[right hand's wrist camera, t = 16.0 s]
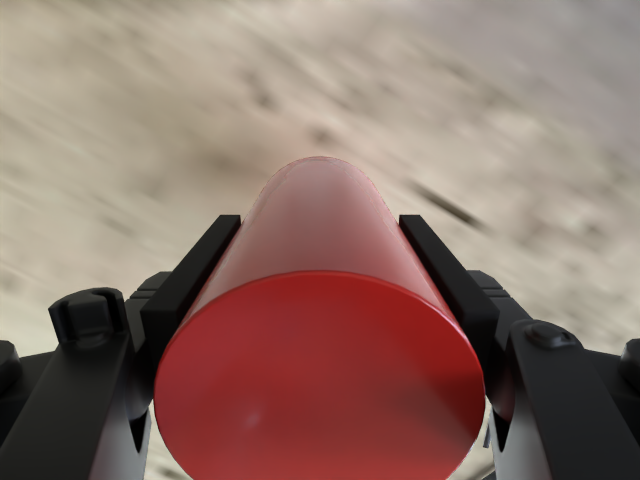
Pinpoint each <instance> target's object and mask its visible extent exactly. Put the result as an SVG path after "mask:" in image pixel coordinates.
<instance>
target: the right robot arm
mask: <svg viewBox="0 0 640 480" xmlns="http://www.w3.org/2000/svg"><path fill="white" fill-rule="evenodd" d="M240 226H241V218H240V215H220V216H219V217H218V218H217V219H216V220H215V222H214V223H213V224H212V225H211V226H210V227H209V229H208V230H207V231H206V232H205V233H204V235H203V236H202V237H201V238H200V239H199V241H198V242H197V243H196V244H195V245H194V247H193V248H192V249H191V250H190V251H189V252H188V254H187V255H186V256H185V257H184V258H183V260H182V261H181V262H180V263H179V264H178V266H177V267H176V268H175V269H174V270H173V271H172V272H159V273H157V274H155V275H154V276H152V277H150V278H148V279H146V280H145V281H144V282H143V283H142V284H141V285H140V287H139V288H138V289H137V291H135V292H134V293H133V294H132V295H131V296H130V299H127V300H126V301H125V302H124V299H123V295H122V292H120V291H119V290H117V289H114V288H108V287H103V288H92V289H87V290H82V291H78V292H76V293H73V294H70V295H67V296H65V297H63V298H62V299H60V300H58V301H56V302H55V303H54V304H52V305H51V306H50V307H49V308H48V311H49V314H50V317H51V320H52V323H53V326H54V329H55V332H56V335H57V338H58V342H59V345H58V346H57V348H56V350H55V351H52V352H47V353H42V354H37V355H31V356H26V357H21V358H19V357H18V354H17V352H16V349H15V346H14V345H13V344H12V343H10V342H9V341H4V340H0V480H143V479H144V472H145V465H146V458H147V451H148V444H149V437H150V429H151V416H150V411H149V407H148V406H149V404H150V403H151V401H152V399H153V392H154V380H155V376H156V372H157V368H158V364H159V361H160V359H161V357H162V355H163V353H164V350H165V348H166V346H167V344H168V343H169V341H170V339H171V338H172V336H173V335H174V333H175V331H176V330H177V328H178V326H179V325H180V323H181V322H182V320H183V318H184V317H185V315H186V313H187V312H188V310H189V309H190V307H191V305H192V304H193V302H194V300H195V299H196V297H197V296H198V294H199V292H200V291H201V289H202V287H203V286H204V284H205V283H206V281H207V279H208V278H209V276H210V274H211V273H212V271H213V270H214V268H215V266H216V265H217V263H218V261H219V260H220V258H221V257H222V255H223V253H224V252H225V250H226V248H227V247H228V245H229V244H230V242H231V240H232V239H233V237H234V235H235V234H236V232H237V231H238V229H239V227H240ZM399 227H400V228H401V230H402V232H403V233H404V235H405V237H406V238H407V240H408V241H409V243H410V245H411V246H412V248H413V250H414V251H415V253H416V255H417V256H418V258H419V259H420V261H421V263H422V264H423V266H424V268H425V269H426V271H427V273H428V274H429V276H430V277H431V279H432V281H433V282H434V284H435V286H436V287H437V289H438V291H439V292H440V294H441V296H442V297H443V299H444V300H445V302H446V304H447V305H448V307H449V309H450V310H451V312H452V314H453V315H454V317H455V318H456V320H457V322H458V323H459V325H460V327H461V328H462V330H463V332H464V333H465V335H466V336H467V338H468V340H469V342H470V343H471V345H472V347H473V349H474V350H475V352H476V354H477V357H478V360H479V362H480V365H481V368H482V371H483V376H484V382H485V394H486V396H487V398H488V399H489V401H490V403H491V405H492V407H491V411H490V416H489V420H488V424H487V429H486V433H485V437H484V443H483V447H485V448H488V447H489V443H490V440H491V443H492V450H493V457H494V464H495V471H494V472H492V473H491V474H489V475H488V476H486V477H485V478H483V479H482V480H640V338H638V339H632V340H630V341H629V342H627V343H626V345H625V348H624V351H623V353H622V356H618V355H613V354H607V353H602V352H597V351H592V350H587V349H584V347H583V346H582V344H581V342H580V341H579V340H578V339H577V338H576V337H575V336H574V335H573V334H571V333H570V332H568V331H567V330H565V329H564V328H562V327H559V326H557V325H554V324H552V323H549V322H545V321H541V320H534V319H532V318H531V317H530V316H529V315H528V313H527V312H526V311H525V310H524V309H523V308H522V307H521V306H520V305H519V304H518V303H517V302H516V301H515V300H514V299H513V298H511V297H510V295H509V294H508V293H507V292H506V290H503V287H502V286H501V285H500V284H499V283H498V282H497V281H496V280H495V279H494V278H492V277H491V276H489V275H487V274H485V273H483V272H481V271H480V270H466V269H465V268H464V267H463V266H462V265H461V263H460V262H459V261H458V260H457V259H456V258H455V256H454V255H453V254H452V253H451V252H450V250H449V249H448V248H447V247H446V246H445V244H444V243H443V242H442V241H441V240H440V239H439V237H438V236H437V235H436V234H435V233H434V231H433V230H432V229H431V228H430V227H429V225H428V224H427V223H426V222H425V221H424V219H423V218H422V217H421V216H420V215H399Z"/></svg>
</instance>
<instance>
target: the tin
mask: <svg viewBox="0 0 640 480" xmlns="http://www.w3.org/2000/svg"><path fill="white" fill-rule="evenodd" d="M153 402H154V413H155V418H156V422H157V425H158V429H159V432H160V434H161V436H162V439H163V441H164V443H165V445H166V447H167V449H168V450H169V452H170V453H171V455H172V456H173V458H174V459H175V461H176V462H177V463H178V464H179V465H180V467H181V468H182V469H183V470H184V471H185V472H186V473H187V474H188V475H189V476H190V477H191V478H192V479H193V480H446V479H447V478H448V477H449V476H450V475H451V474H452V473H453V472H454V471H455V470H456V469H457V468H458V467H459V466H460V464H461V463H462V462H463V460H464V459H465V458H466V456H467V455H468V454H469V452H470V450H471V449H472V447H473V445H474V443H475V441H476V439H477V437H478V434H479V431H480V429H481V426H482V423H483V417H484V412H485V382H484V376H483V371H482V368H481V365H480V362H479V360H478V357H477V354H476V352H475V350H474V349H473V347H472V345H471V343H470V342H469V340H468V338H467V336H466V335H465V333H464V332H463V330H462V328H461V327H460V325H459V323H458V322H457V320H456V318H455V317H454V315H453V314H452V312H451V310H450V309H449V307H448V305H447V304H446V302H445V300H444V299H443V297H442V296H441V294H440V292H439V291H438V289H437V287H436V286H435V284H434V282H433V281H432V279H431V277H430V276H429V274H428V273H427V271H426V269H425V268H424V266H423V264H422V263H421V261H420V259H419V258H418V256H417V255H416V253H415V251H414V250H413V248H412V246H411V245H410V243H409V241H408V240H407V238H406V237H405V235H404V233H403V232H402V230H401V228H400V227H399V225H398V223H397V222H396V220H395V218H394V217H393V215H392V214H391V212H390V210H389V209H388V207H387V205H386V204H385V202H384V200H383V199H382V197H381V196H380V194H379V192H378V191H377V189H376V187H375V186H374V184H373V183H372V182H371V180H370V179H369V178H368V177H367V176H366V175H365V174H364V173H363V172H362V171H361V170H359V169H358V168H356V167H355V166H353V165H351V164H349V163H348V162H345V161H342V160H340V159H336V158H331V157H309V158H304V159H300V160H297V161H295V162H292V163H290V164H288V165H286V166H285V167H283V168H282V169H280V170H279V171H278V172H277V173H276V174H274V175H273V176H272V178H271V179H270V180H269V181H268V182H267V184H266V185H265V187H264V188H263V190H262V192H261V193H260V195H259V196H258V198H257V200H256V201H255V203H254V205H253V206H252V208H251V209H250V211H249V213H248V214H247V216H246V218H245V219H244V221H243V222H242V224H241V226H240V227H239V229H238V231H237V232H236V234H235V235H234V237H233V239H232V240H231V242H230V244H229V245H228V247H227V248H226V250H225V252H224V253H223V255H222V257H221V258H220V260H219V261H218V263H217V265H216V266H215V268H214V270H213V271H212V273H211V274H210V276H209V278H208V279H207V281H206V283H205V284H204V286H203V287H202V289H201V291H200V292H199V294H198V296H197V297H196V299H195V300H194V302H193V304H192V305H191V307H190V309H189V310H188V312H187V313H186V315H185V317H184V318H183V320H182V322H181V323H180V325H179V326H178V328H177V330H176V331H175V333H174V335H173V336H172V338H171V339H170V341H169V343H168V344H167V346H166V348H165V350H164V353H163V355H162V357H161V359H160V361H159V364H158V368H157V372H156V376H155V380H154V392H153Z"/></svg>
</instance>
